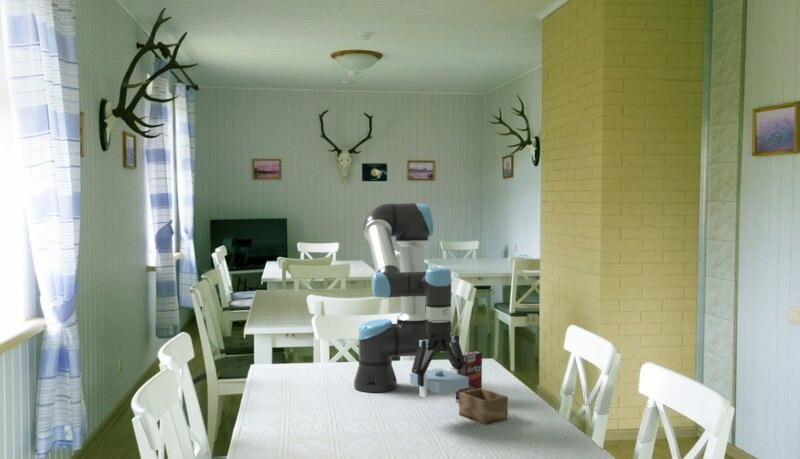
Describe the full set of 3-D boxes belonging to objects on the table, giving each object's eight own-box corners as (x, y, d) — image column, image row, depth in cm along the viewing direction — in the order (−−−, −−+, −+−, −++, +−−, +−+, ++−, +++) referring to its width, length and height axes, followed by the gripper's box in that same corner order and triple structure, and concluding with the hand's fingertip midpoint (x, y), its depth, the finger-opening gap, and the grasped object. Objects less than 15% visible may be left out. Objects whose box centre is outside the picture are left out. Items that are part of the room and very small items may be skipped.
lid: (410, 386, 216) (410, 370, 216) (439, 380, 223) (439, 364, 223) (439, 397, 205) (439, 379, 205) (468, 390, 211) (468, 374, 211)
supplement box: (466, 404, 232) (466, 356, 231) (455, 401, 236) (454, 354, 235) (482, 399, 239) (482, 351, 238) (471, 396, 242) (471, 349, 241)
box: (459, 415, 222) (459, 392, 221) (481, 409, 227) (481, 387, 226) (485, 425, 212) (485, 401, 212) (507, 419, 217) (507, 396, 217)
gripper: (414, 326, 203) (414, 402, 204) (477, 317, 217) (477, 389, 218) (399, 322, 209) (399, 397, 210) (461, 314, 223) (461, 384, 224)
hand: (439, 393), depth 214 cm, fingers closed on lid, 11 cm apart
